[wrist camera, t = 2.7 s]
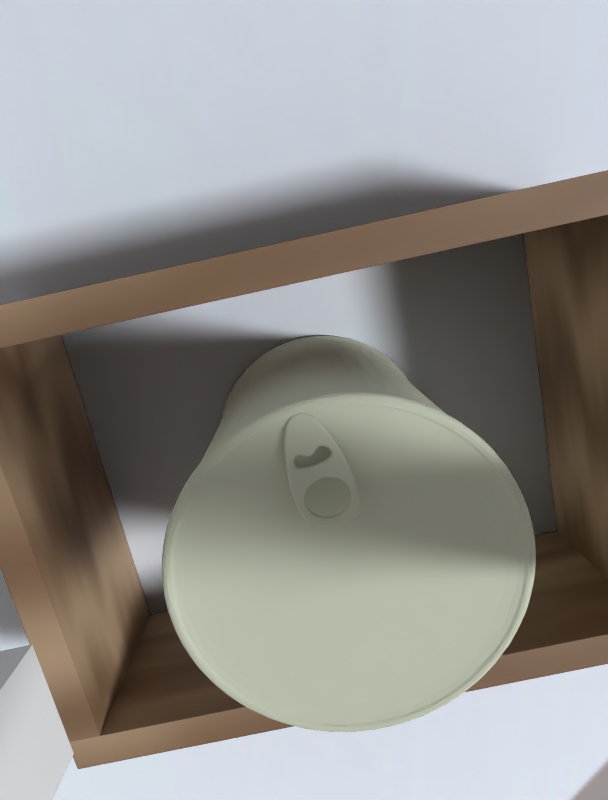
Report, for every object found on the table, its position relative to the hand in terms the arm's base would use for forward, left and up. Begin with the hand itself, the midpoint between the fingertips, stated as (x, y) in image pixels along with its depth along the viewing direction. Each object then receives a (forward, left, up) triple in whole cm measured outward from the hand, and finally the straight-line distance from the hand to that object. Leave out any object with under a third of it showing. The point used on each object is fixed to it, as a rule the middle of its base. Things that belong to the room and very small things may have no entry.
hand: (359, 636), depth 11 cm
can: (0, 0, -14) cm, 14 cm away
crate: (0, 0, -14) cm, 14 cm away
